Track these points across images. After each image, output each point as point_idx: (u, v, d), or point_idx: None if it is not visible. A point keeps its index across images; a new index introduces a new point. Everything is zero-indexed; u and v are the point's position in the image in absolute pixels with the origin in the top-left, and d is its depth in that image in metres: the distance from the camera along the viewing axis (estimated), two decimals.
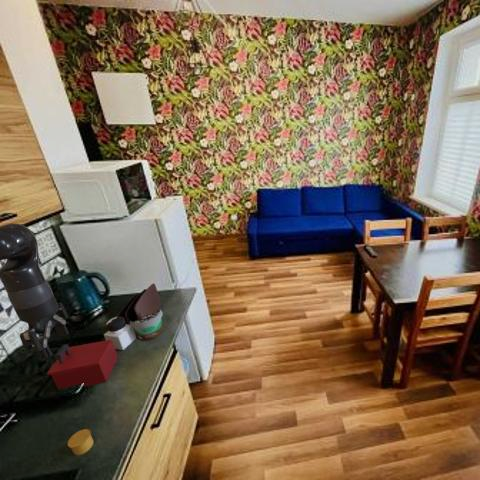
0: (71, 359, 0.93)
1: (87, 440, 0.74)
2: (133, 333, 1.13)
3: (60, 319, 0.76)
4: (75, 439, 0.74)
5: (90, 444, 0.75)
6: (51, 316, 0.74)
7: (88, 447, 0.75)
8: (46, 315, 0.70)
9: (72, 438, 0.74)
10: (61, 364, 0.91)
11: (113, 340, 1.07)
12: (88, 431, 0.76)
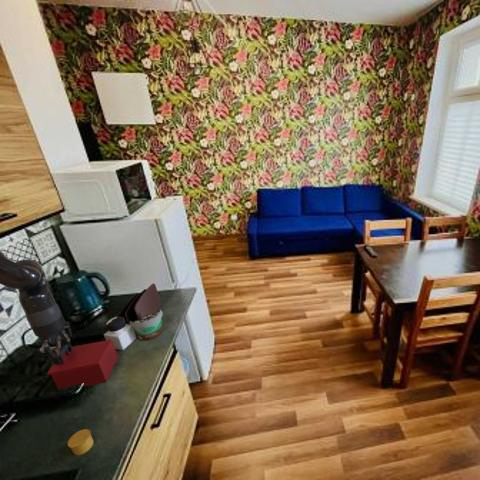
0: (71, 359, 0.93)
1: (87, 440, 0.74)
2: (133, 333, 1.13)
3: (66, 335, 0.93)
4: (75, 439, 0.74)
5: (90, 444, 0.75)
6: (60, 331, 0.90)
7: (88, 447, 0.75)
8: (56, 331, 0.86)
9: (72, 438, 0.74)
10: (61, 364, 0.91)
11: (113, 340, 1.07)
12: (88, 431, 0.76)
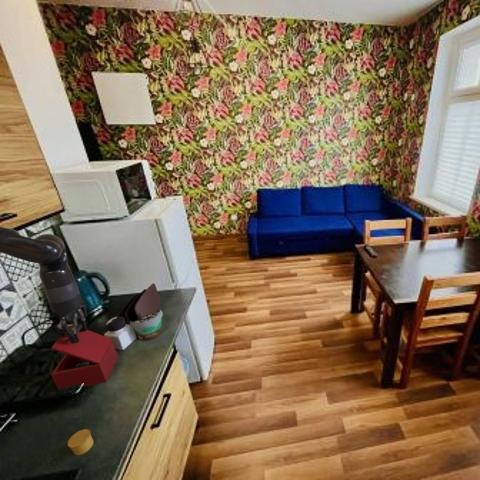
0: (76, 343, 0.91)
1: (87, 440, 0.74)
2: (133, 333, 1.13)
3: (82, 314, 0.92)
4: (75, 439, 0.74)
5: (90, 444, 0.75)
6: (76, 309, 0.89)
7: (88, 447, 0.75)
8: (74, 308, 0.86)
9: (72, 438, 0.74)
10: (66, 343, 0.89)
11: (113, 340, 1.07)
12: (88, 431, 0.76)
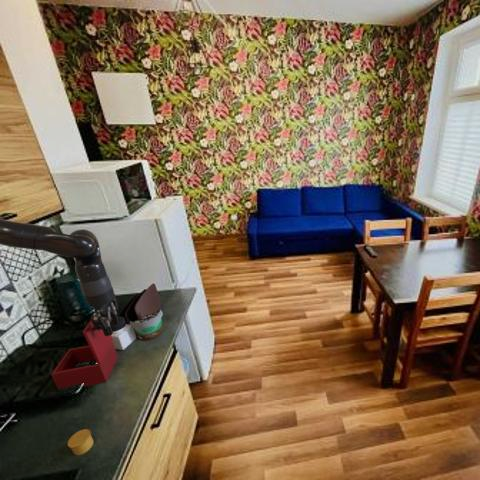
0: (96, 334, 0.92)
1: (87, 440, 0.74)
2: (133, 333, 1.13)
3: (114, 308, 0.94)
4: (75, 439, 0.74)
5: (90, 444, 0.75)
6: (109, 303, 0.92)
7: (88, 447, 0.75)
8: (108, 301, 0.88)
9: (72, 438, 0.74)
10: (92, 331, 0.90)
11: (113, 340, 1.07)
12: (88, 431, 0.76)
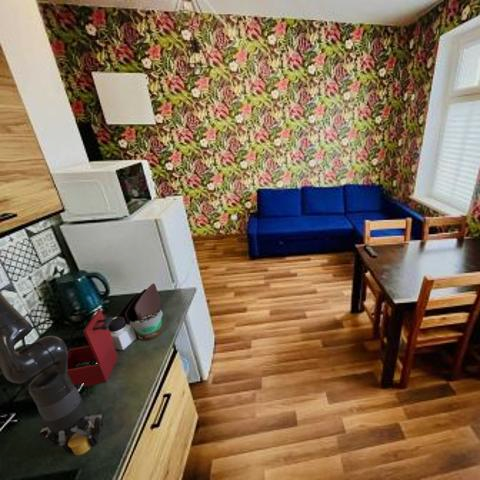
0: (96, 334, 0.92)
1: (87, 440, 0.74)
2: (133, 333, 1.13)
3: (81, 433, 0.72)
4: (75, 439, 0.74)
5: None
6: (72, 426, 0.71)
7: (88, 447, 0.75)
8: (49, 429, 0.67)
9: (72, 438, 0.74)
10: (92, 331, 0.90)
11: (113, 340, 1.07)
12: None
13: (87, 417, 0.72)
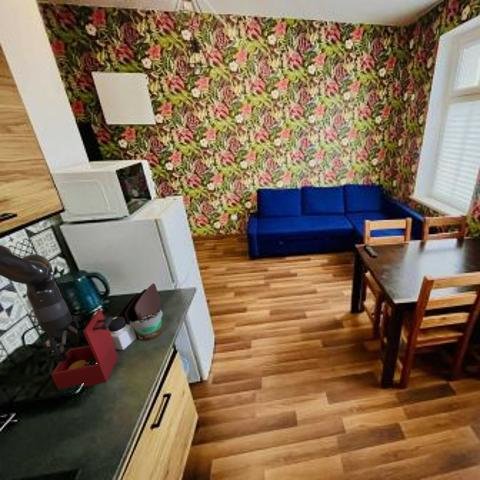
0: (96, 334, 0.92)
1: None
2: (133, 333, 1.13)
3: (73, 329, 0.93)
4: (76, 366, 0.95)
5: None
6: (66, 327, 0.90)
7: None
8: (63, 326, 0.87)
9: None
10: (92, 331, 0.90)
11: (113, 340, 1.07)
12: (75, 362, 0.97)
13: None
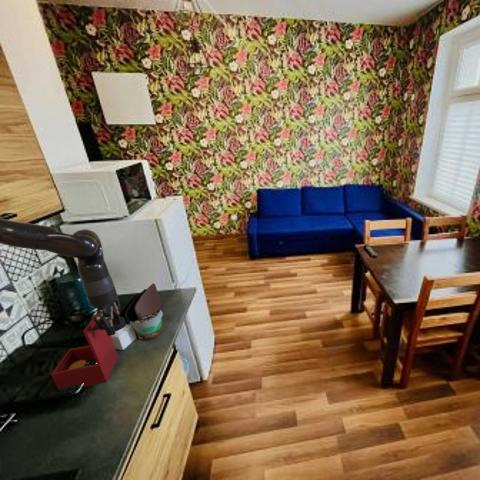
0: (96, 334, 0.92)
1: None
2: (133, 333, 1.13)
3: (117, 308, 0.94)
4: (76, 366, 0.95)
5: None
6: (112, 303, 0.92)
7: None
8: (110, 301, 0.88)
9: None
10: (92, 331, 0.90)
11: (113, 340, 1.07)
12: (75, 362, 0.97)
13: None
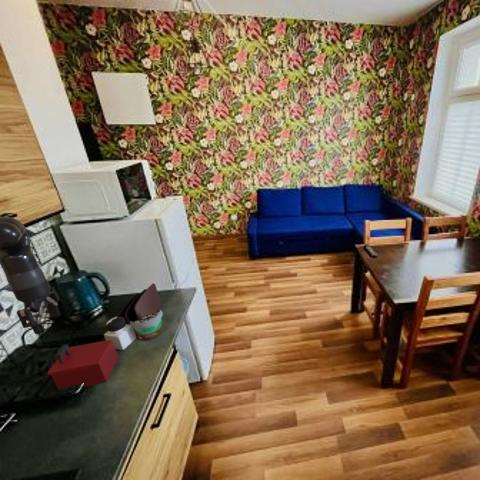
0: (71, 360, 0.93)
1: None
2: (133, 333, 1.13)
3: (52, 301, 0.88)
4: None
5: None
6: (44, 297, 0.85)
7: None
8: (39, 295, 0.81)
9: None
10: (61, 364, 0.91)
11: (113, 340, 1.07)
12: None
13: None
